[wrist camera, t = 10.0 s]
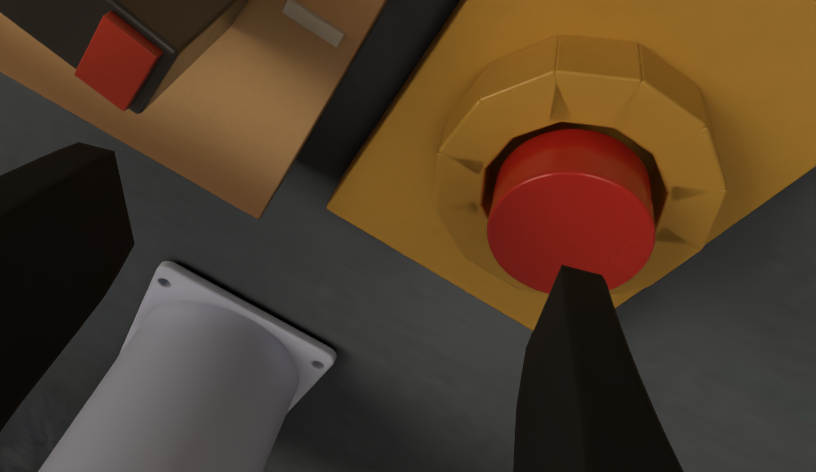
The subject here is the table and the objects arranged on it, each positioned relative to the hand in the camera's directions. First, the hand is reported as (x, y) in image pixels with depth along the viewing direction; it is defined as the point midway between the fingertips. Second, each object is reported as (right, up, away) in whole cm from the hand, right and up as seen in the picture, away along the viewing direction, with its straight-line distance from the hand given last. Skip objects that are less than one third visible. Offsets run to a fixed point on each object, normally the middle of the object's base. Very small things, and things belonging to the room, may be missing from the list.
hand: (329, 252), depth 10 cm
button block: (+6, +3, +7) cm, 10 cm away
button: (+5, +1, +5) cm, 7 cm away
